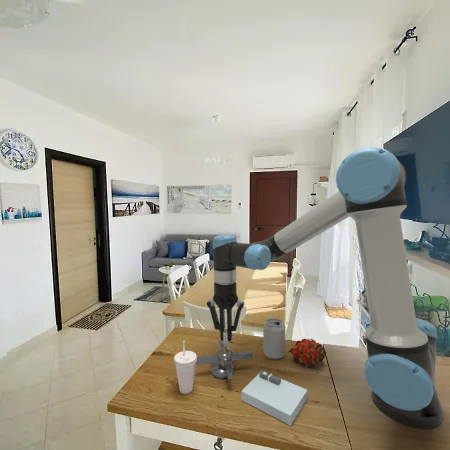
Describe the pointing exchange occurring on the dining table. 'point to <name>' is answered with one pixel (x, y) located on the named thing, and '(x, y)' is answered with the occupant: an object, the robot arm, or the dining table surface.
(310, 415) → the dining table surface
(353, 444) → the dining table surface
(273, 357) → the can
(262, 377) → the pale grey switch box
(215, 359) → the capstan
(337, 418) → the dining table surface
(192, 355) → the smoothie
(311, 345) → the dragon fruit
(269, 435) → the dining table surface
